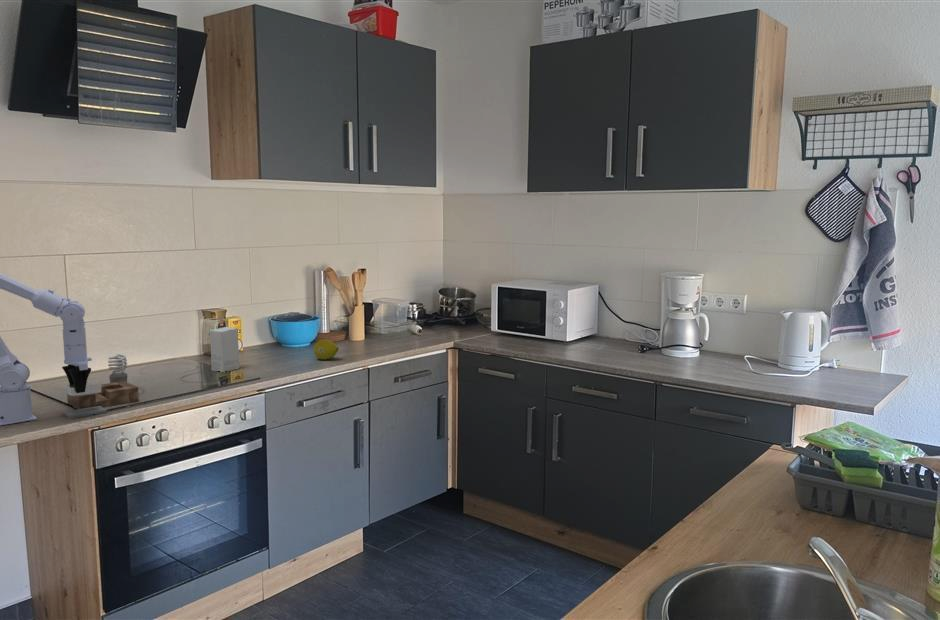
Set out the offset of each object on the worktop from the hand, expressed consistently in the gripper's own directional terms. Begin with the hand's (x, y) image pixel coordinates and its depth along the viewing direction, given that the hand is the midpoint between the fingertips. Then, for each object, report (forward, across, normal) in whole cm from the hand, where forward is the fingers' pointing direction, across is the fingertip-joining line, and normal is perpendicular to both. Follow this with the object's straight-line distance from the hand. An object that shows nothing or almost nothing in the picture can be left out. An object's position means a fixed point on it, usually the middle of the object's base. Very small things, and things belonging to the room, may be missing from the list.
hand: (78, 391), depth 215 cm
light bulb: (+7, +24, -18) cm, 31 cm away
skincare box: (+7, +30, -58) cm, 66 cm away
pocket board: (+7, +10, -10) cm, 15 cm away
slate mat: (+7, 0, -2) cm, 7 cm away
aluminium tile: (+1, 0, -2) cm, 2 cm away
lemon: (+7, +22, -96) cm, 99 cm away
